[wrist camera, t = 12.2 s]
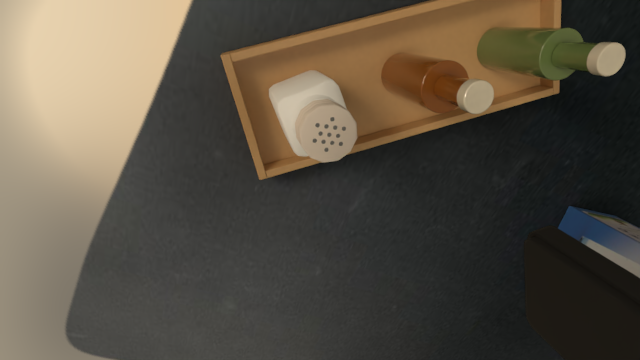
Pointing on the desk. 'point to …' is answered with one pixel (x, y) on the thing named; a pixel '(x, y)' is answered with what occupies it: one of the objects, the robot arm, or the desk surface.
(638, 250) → the milk carton
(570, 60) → the olive bottle
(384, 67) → the amber bottle
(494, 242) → the desk surface
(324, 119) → the pepper shaker
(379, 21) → the tray
